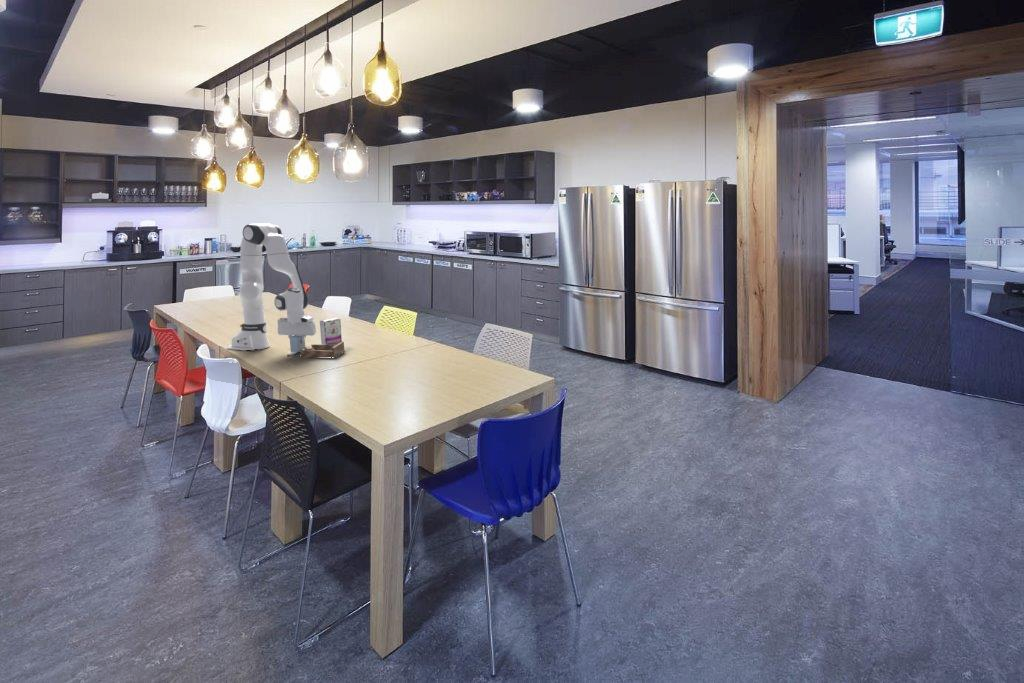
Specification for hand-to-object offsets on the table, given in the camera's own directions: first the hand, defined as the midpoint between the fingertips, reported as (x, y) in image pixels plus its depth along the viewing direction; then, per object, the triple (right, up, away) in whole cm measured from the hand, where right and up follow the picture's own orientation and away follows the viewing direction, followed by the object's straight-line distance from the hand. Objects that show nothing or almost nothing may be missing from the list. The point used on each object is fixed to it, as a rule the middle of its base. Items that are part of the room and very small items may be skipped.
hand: (297, 342), depth 321 cm
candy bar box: (+13, -3, +18) cm, 23 cm away
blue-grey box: (0, -4, +1) cm, 4 cm away
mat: (0, -6, +1) cm, 6 cm away
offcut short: (+6, -4, 0) cm, 8 cm away
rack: (+14, -6, 0) cm, 15 cm away
